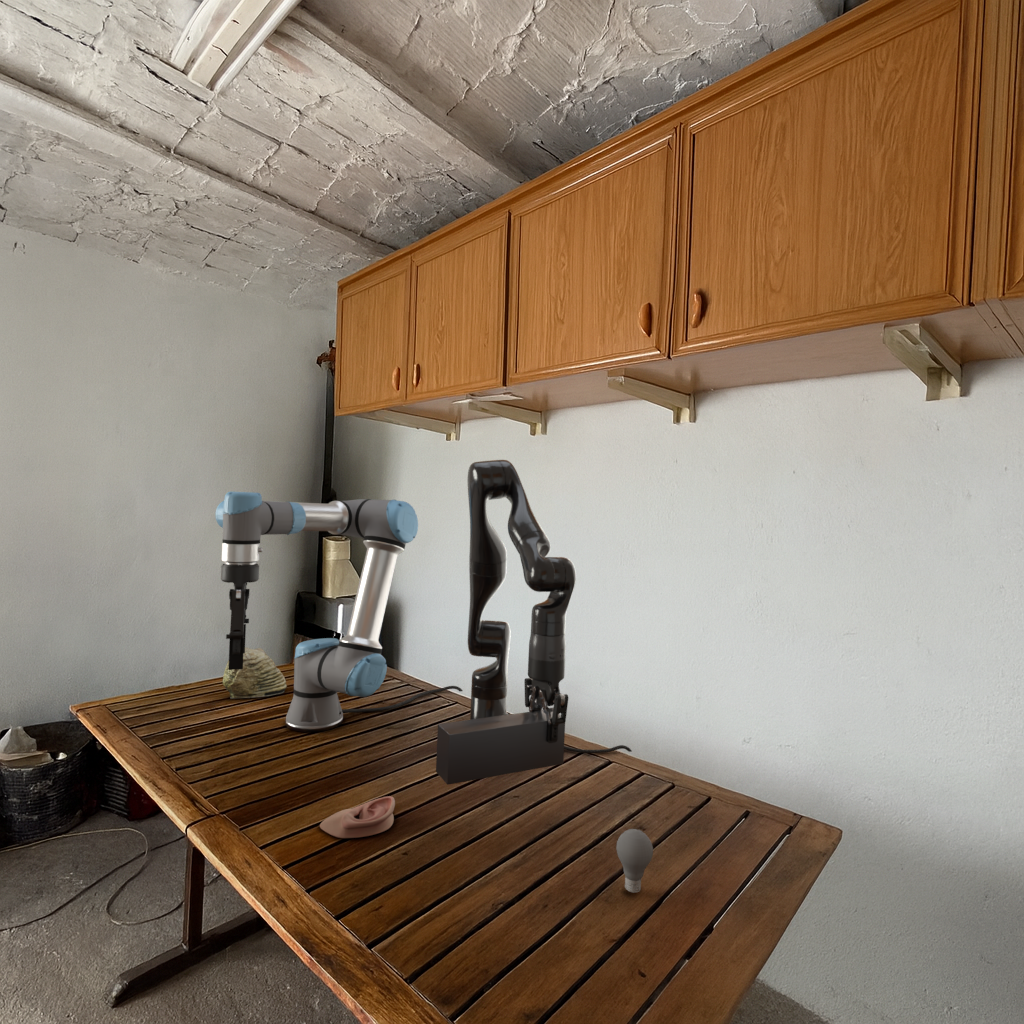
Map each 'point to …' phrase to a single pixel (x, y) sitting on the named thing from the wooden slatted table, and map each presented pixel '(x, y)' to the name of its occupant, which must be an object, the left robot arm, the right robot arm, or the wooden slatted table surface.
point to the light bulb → (634, 857)
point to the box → (496, 746)
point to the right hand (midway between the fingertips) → (543, 736)
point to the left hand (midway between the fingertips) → (237, 661)
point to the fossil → (254, 676)
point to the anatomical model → (361, 819)
